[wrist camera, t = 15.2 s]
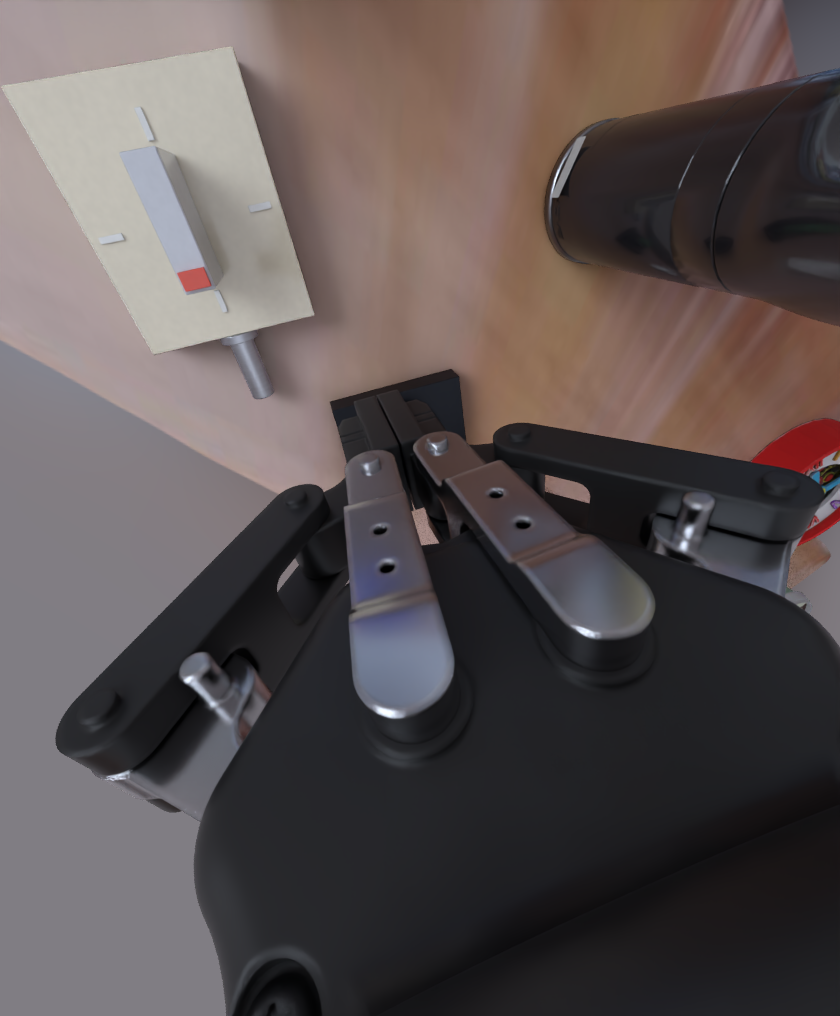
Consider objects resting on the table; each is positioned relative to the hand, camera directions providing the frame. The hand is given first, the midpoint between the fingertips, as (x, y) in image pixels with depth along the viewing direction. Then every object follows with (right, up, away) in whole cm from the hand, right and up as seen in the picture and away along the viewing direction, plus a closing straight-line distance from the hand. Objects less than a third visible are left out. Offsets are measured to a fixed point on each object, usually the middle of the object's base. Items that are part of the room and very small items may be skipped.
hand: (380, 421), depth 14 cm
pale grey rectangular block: (-13, +15, +12) cm, 24 cm away
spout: (-13, +9, +21) cm, 26 cm away
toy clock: (+58, +2, +51) cm, 77 cm away
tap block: (-14, +17, +15) cm, 27 cm away
